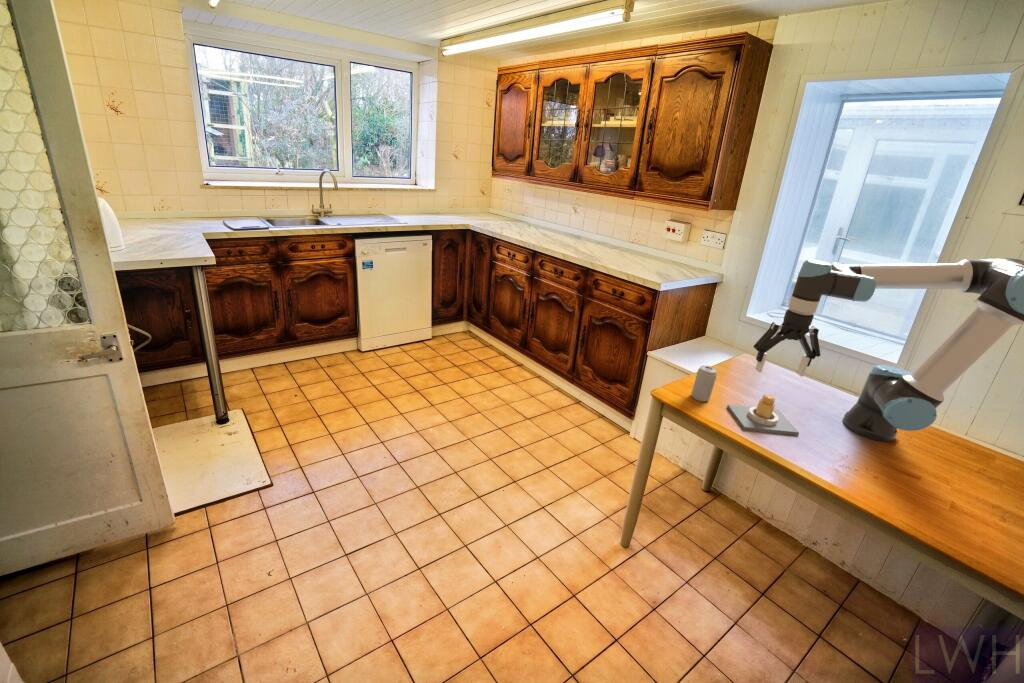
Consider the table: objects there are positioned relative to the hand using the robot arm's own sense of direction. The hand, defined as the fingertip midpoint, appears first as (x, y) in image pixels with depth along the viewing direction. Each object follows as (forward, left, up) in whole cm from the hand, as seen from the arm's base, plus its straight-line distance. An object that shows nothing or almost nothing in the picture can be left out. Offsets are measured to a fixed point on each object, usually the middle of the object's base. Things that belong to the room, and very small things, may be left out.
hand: (778, 372), depth 154 cm
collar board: (0, 0, -19) cm, 19 cm away
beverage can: (+17, -12, -19) cm, 28 cm away
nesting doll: (0, 0, -17) cm, 17 cm away
